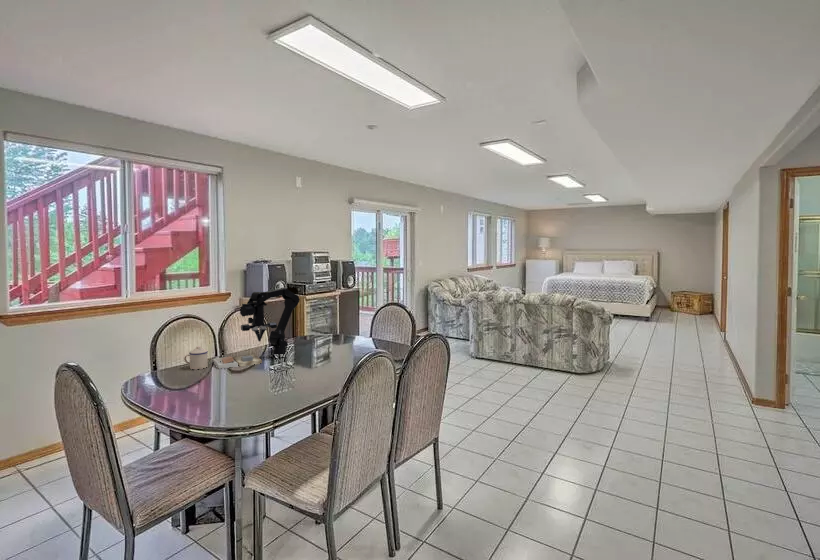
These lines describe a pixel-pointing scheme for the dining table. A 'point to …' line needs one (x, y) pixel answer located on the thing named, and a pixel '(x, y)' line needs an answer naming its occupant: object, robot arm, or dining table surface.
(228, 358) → the terracotta tile
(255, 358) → the birch board
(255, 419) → the dining table surface
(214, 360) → the tray
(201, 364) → the teacup with lid
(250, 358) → the slate tile
